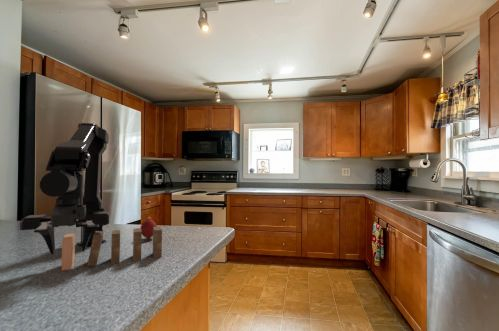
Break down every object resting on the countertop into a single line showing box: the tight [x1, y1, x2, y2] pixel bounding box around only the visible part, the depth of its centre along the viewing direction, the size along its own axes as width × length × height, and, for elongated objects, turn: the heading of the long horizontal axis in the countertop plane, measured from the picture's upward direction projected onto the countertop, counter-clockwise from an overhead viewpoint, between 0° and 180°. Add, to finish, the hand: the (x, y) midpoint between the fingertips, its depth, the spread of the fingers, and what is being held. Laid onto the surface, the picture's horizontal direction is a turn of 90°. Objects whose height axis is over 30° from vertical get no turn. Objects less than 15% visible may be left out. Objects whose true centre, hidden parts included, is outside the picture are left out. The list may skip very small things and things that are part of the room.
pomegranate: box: [140, 216, 158, 240], centre depth 95 cm, size 6×6×8 cm
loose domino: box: [61, 233, 76, 271], centre depth 67 cm, size 2×5×8 cm, turn 27°
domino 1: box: [86, 230, 105, 267], centre depth 70 cm, size 2×5×8 cm, turn 26°
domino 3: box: [132, 227, 143, 262], centre depth 74 cm, size 2×5×8 cm, turn 26°
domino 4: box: [152, 226, 163, 259], centre depth 77 cm, size 2×5×8 cm, turn 26°
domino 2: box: [110, 229, 121, 265], centre depth 72 cm, size 2×5×8 cm, turn 26°
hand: (68, 252), depth 67 cm, fingers open, 6 cm apart
